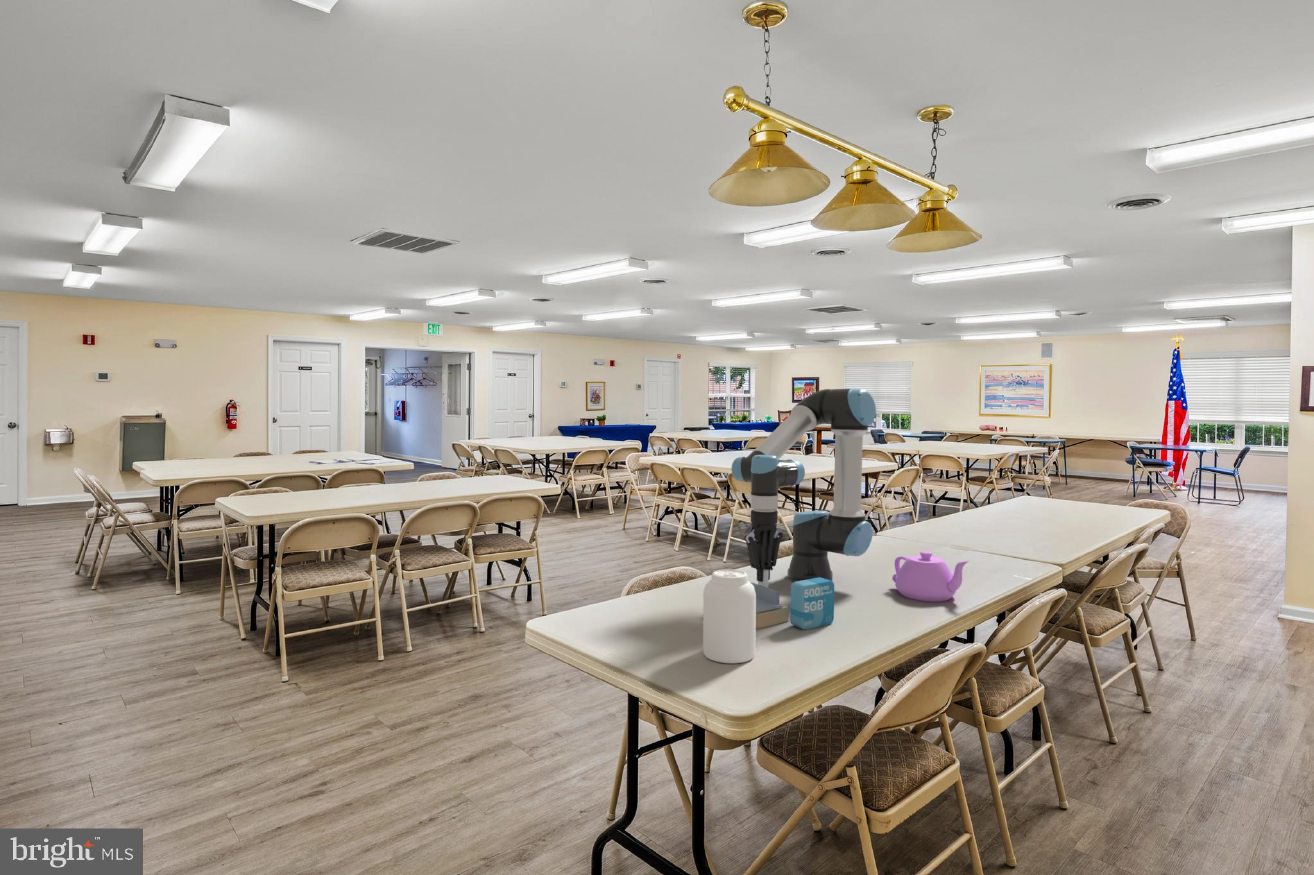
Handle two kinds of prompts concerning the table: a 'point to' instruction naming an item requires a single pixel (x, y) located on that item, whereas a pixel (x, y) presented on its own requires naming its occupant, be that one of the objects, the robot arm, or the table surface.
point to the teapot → (927, 578)
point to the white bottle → (729, 617)
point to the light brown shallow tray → (772, 617)
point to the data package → (812, 603)
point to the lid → (766, 598)
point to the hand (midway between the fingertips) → (763, 592)
